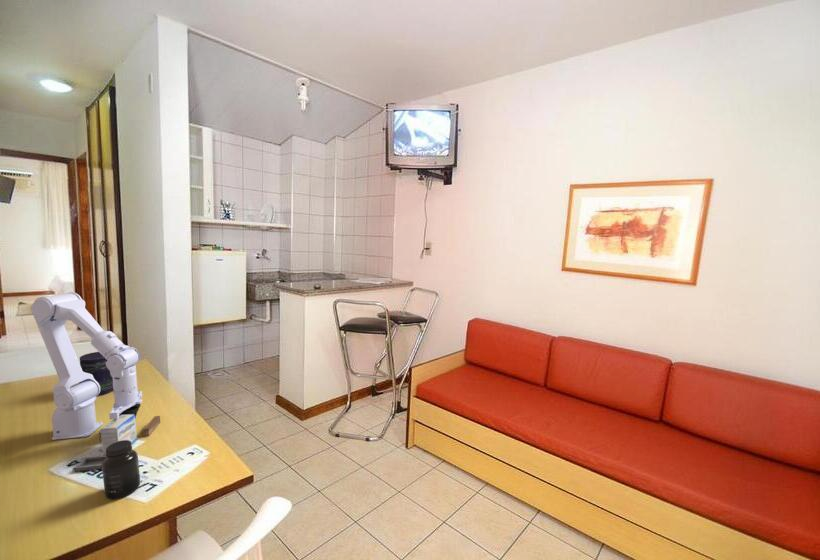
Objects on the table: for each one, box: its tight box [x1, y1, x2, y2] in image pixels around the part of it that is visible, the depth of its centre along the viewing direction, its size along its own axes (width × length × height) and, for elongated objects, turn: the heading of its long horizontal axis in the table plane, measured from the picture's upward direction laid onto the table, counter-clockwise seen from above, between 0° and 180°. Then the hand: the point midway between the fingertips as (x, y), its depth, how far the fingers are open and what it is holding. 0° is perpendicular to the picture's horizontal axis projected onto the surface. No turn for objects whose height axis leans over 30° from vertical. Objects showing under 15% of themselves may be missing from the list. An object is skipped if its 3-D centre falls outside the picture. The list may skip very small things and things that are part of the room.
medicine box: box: [100, 414, 138, 456], centre depth 103 cm, size 8×4×9 cm, turn 7°
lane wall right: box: [142, 415, 161, 437], centre depth 113 cm, size 2×8×2 cm, turn 14°
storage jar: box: [79, 351, 114, 398], centre depth 137 cm, size 10×10×15 cm
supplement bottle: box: [101, 440, 141, 500], centre depth 86 cm, size 7×7×12 cm
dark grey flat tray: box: [74, 455, 107, 473], centre depth 96 cm, size 9×4×1 cm, turn 104°
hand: (128, 429), depth 110 cm, fingers closed
